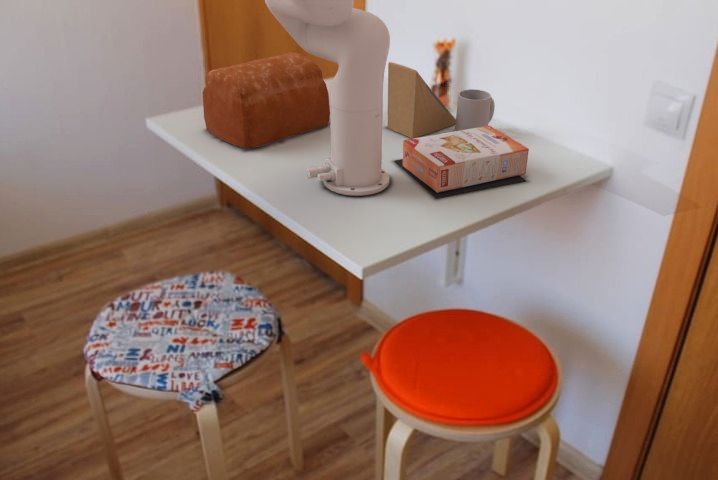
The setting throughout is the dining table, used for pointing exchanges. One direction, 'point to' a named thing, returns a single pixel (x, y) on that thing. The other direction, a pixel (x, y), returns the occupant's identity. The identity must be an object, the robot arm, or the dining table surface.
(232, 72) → the bread
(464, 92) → the cup
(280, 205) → the dining table surface
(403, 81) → the sandwich container
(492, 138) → the cracker box
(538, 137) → the dining table surface
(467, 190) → the mat
